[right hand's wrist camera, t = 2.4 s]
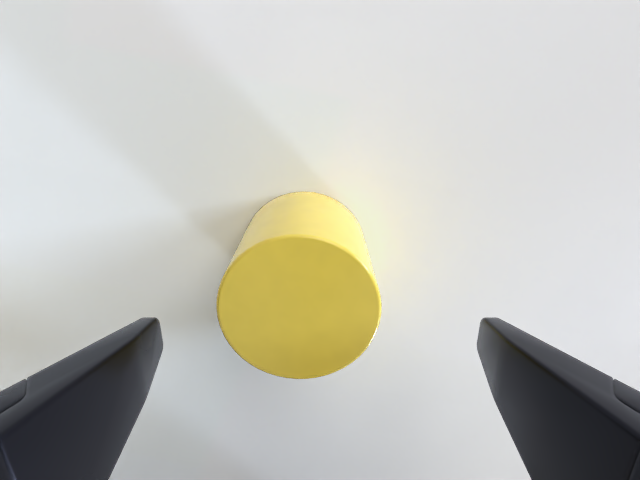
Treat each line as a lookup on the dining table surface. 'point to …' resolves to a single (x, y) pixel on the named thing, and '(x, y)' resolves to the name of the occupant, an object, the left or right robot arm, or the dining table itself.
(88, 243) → the dining table surface
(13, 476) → the right robot arm
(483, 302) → the dining table surface
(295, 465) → the dining table surface
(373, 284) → the canister
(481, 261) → the dining table surface
